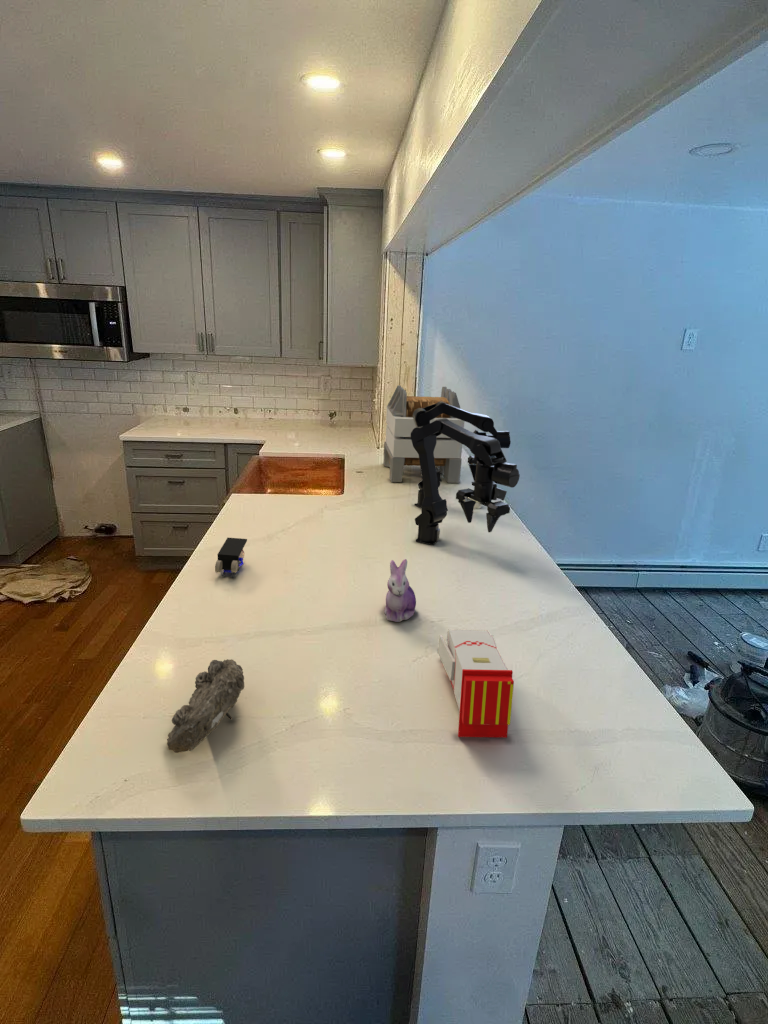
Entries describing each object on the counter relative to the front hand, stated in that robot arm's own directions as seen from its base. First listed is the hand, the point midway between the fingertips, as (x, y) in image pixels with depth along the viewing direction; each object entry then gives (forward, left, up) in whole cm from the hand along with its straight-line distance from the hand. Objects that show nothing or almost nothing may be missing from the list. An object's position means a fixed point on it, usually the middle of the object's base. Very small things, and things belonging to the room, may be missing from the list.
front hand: (479, 527), depth 178 cm
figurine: (-8, -44, -11) cm, 46 cm away
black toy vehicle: (-62, -44, -11) cm, 77 cm away
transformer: (-52, +85, -11) cm, 100 cm away
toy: (+17, -66, -11) cm, 69 cm away
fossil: (-25, -97, -11) cm, 100 cm away
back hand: (-14, +51, -2) cm, 53 cm away
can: (-14, +51, -11) cm, 54 cm away
